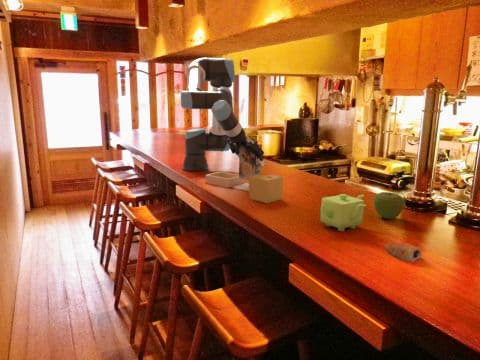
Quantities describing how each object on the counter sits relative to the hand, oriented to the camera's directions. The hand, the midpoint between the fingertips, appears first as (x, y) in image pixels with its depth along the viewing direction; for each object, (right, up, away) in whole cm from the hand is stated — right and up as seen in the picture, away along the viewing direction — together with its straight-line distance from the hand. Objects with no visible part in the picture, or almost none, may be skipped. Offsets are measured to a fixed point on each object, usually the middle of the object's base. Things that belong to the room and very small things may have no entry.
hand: (254, 162), depth 181 cm
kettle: (+28, -24, -51) cm, 63 cm away
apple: (+47, -22, -40) cm, 66 cm away
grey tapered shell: (+39, -30, -74) cm, 88 cm away
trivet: (-2, -12, +1) cm, 12 cm away
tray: (-14, -10, +9) cm, 19 cm away
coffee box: (-2, -7, -1) cm, 8 cm away
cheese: (+4, -17, -19) cm, 25 cm away
